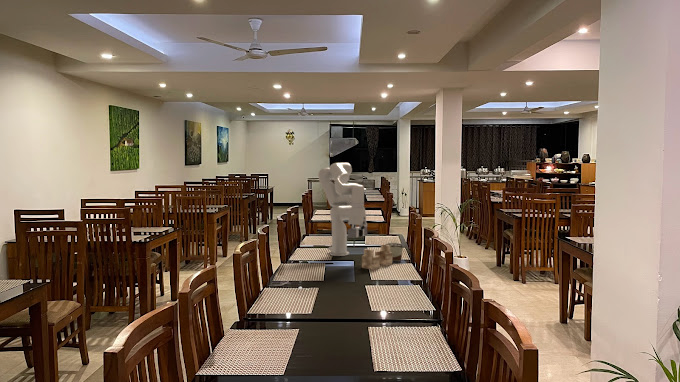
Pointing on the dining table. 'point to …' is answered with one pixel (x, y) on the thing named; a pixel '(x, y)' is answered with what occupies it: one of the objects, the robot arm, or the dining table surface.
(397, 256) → the food container
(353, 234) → the bed rail
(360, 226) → the robot arm
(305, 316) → the dining table surface
